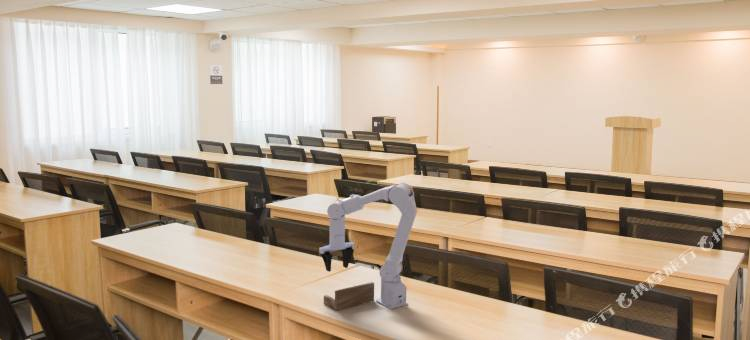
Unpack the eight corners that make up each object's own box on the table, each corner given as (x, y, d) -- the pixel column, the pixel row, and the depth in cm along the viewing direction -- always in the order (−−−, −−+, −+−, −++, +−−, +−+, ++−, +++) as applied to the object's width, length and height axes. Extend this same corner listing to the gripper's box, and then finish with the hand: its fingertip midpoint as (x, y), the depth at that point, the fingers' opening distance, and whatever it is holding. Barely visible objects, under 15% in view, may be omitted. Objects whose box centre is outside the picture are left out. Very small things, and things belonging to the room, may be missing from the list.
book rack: (373, 301, 217) (374, 283, 216) (336, 310, 207) (336, 291, 206) (360, 294, 224) (360, 276, 223) (323, 303, 214) (323, 284, 213)
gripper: (347, 229, 226) (347, 263, 228) (314, 234, 218) (314, 269, 220) (357, 232, 221) (357, 267, 223) (324, 238, 212) (324, 274, 214)
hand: (337, 269), depth 221 cm, fingers open, 7 cm apart
